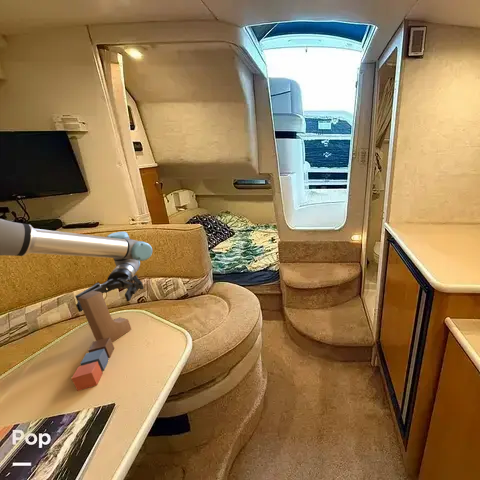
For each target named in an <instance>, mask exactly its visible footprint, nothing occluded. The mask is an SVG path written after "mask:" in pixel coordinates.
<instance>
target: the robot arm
mask: <svg viewBox="0 0 480 480" xmlns="http://www.w3.org/2000/svg"><path fill="white" fill-rule="evenodd" d="M29 254H37V255H39V254H41V255H55V256H56V255H58V256H74V257H92V258H105V259H106V258H107V259H109V258H110V259H113V261H114V264H115V267H114V268H113V270H112V271H111V272H110V274H109V275H108V277H107V279H106V281H105V282H103V283H100V282H96V283H94V284H93V285H91V286H90V287H88V288H86V289H85V290H83V291H82V292H79V293H77V294H76V295H75V300H76V301H77V303H76V304H75V306H76V309H77V311H78V312H79V313H81V312H83V309H82V307H81V304H80V302H79V300H78V297H80V296H82V295H84V294H86V293H89V292H91V291H97V292H101V293H102V294H108V293H109V292H111V291H114V290H121V289H124V290H126V292H124V297H125V300H126V302H130V301H131V299H132V297H133V295H135V294H136V293H137V292H138V291H139V290H144V288H145V286H144V284H143V282H142V281H141V280H140V279H139V278H138V275H136V274H137V272H138V271H139V270H140V266H141V262H144V261H147V260H148V259H150V258H151V257H152V255H153V247H152V246H151V244H150V243H148V242H145V241H143V240H142V241H141V240H136V239H132V238H130V236H129V234H128V232H126V231H117V232H112V233H110V234H108V235H106V236H100V235H92V234H84V233H75V232H68V231H67V232H66V231H58V230H49V229H43V228H41V229H40V228H34V227H33V226H32V225H31V224H28V223H21V222H15V221H11V220H6V219H3V218H0V256H13V257H24V256H27V255H29Z"/></svg>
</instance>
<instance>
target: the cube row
mask: <svg viewBox="0 0 480 480" xmlns="http://www.w3.org/2000/svg"><path fill="white" fill-rule="evenodd" d="M114 350H115V346H114V344H113V342H112V341H111V339H110V337H109V338H105V339H101V340H97V341H96V340H94V341H92V343H91V344H90V346H89V347H88V350H87V352H86V353H85V354H84V356H83V358H82V360H81V361H80V363H79V364H80V365H79V366H77V368H76V370H75V371H74V373H73V375H72V377H71V378H70V379H71V381H72V383H73V385H74V387H75V388H76V391H77V392H79V391H82V390H85V389H89V388H92V387H96V386H98V385H99V382H100V381H101V378H102V376H103V372H104V371H105V369H106V367H107V365H108V363H109V361H110V358H111V357H112V354H113V352H114ZM108 360H109V361H108Z"/></svg>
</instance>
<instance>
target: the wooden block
mask: <svg viewBox="0 0 480 480" xmlns="http://www.w3.org/2000/svg"><path fill="white" fill-rule="evenodd" d="M103 295H104V294H103V293H101V292H97V291H91V292H89V293H86V294H84V295H82V296H80V297H78V300H79V302H80V304H81V307H82V309H83V310H82V312H83V313H84V316H85V318H86V321H87V324H88V325H89V328H90V330H91V332H92V334H93V337H94V340H95V341H97V340H101V339H105V338H109V337H110V339H111V341H112V343H114V342H115V341H116V340H118V339H119V338H121V337H122V336H124V335H126V334H127V333H128V332H130V331H131V330H132V327H131V323H130V321H129V319H128V318H124V317H117V318H115V319H114V318H112V316H111V313H110V310H109V307H108V305H107V303H106V300H105V298H104V296H103Z"/></svg>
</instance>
